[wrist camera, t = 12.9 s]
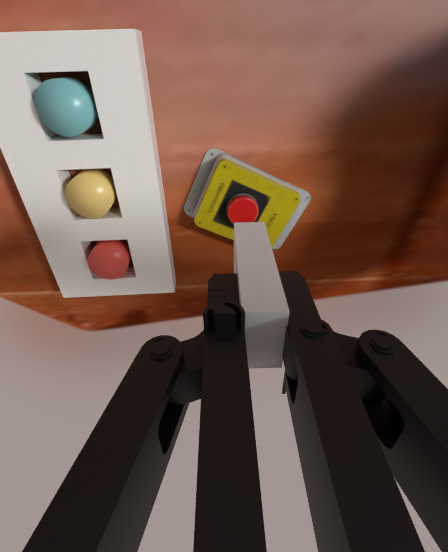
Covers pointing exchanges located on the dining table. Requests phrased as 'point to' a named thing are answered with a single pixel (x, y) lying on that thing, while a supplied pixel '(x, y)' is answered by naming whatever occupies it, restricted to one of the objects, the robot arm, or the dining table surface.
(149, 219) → the button panel
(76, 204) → the ochre button
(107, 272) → the red button
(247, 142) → the dining table surface
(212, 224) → the emergency button
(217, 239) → the dining table surface
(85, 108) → the teal button
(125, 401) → the robot arm
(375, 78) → the dining table surface
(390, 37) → the dining table surface
